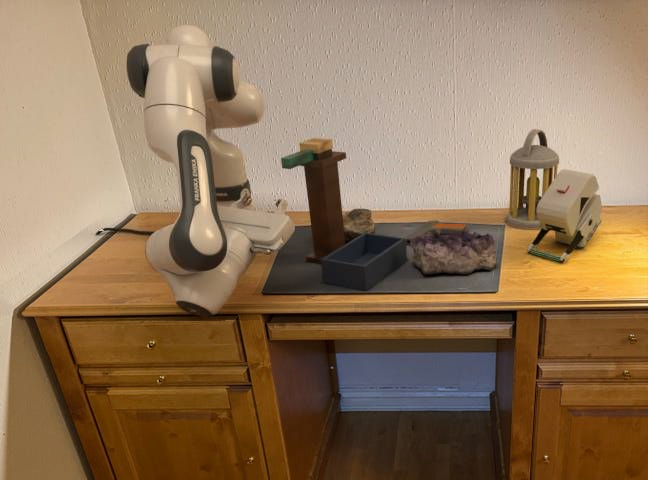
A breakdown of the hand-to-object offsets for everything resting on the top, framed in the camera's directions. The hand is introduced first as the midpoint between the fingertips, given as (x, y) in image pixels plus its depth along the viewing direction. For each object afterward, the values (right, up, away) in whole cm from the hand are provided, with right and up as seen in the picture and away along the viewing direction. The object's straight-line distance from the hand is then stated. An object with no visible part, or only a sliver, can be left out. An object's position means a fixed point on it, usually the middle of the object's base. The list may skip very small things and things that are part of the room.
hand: (265, 199), depth 139 cm
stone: (+15, -1, +38) cm, 41 cm away
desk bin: (+20, -13, +18) cm, 29 cm away
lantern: (+63, +5, +47) cm, 79 cm away
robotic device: (+70, -6, +28) cm, 75 cm away
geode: (+41, -12, +18) cm, 46 cm away
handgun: (+37, -1, +37) cm, 52 cm away
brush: (+7, +11, +10) cm, 16 cm away
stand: (+10, -8, +27) cm, 30 cm away
